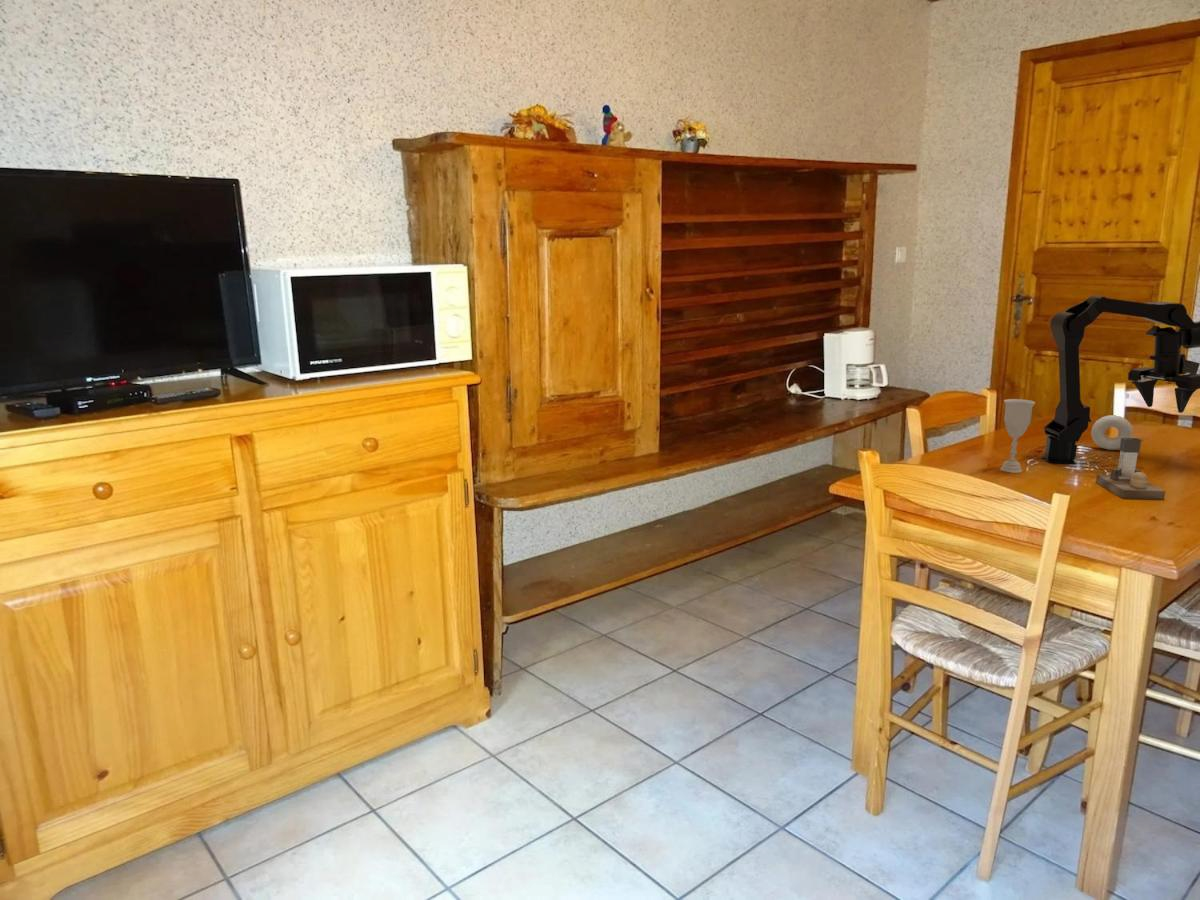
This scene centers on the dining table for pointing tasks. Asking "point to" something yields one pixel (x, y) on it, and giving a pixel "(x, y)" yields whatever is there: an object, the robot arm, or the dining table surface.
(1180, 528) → the dining table surface
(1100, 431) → the donut
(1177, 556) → the dining table surface
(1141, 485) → the beige egg
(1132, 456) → the grey blocky upright piece
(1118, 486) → the grey base plate stand
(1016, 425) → the chalice
